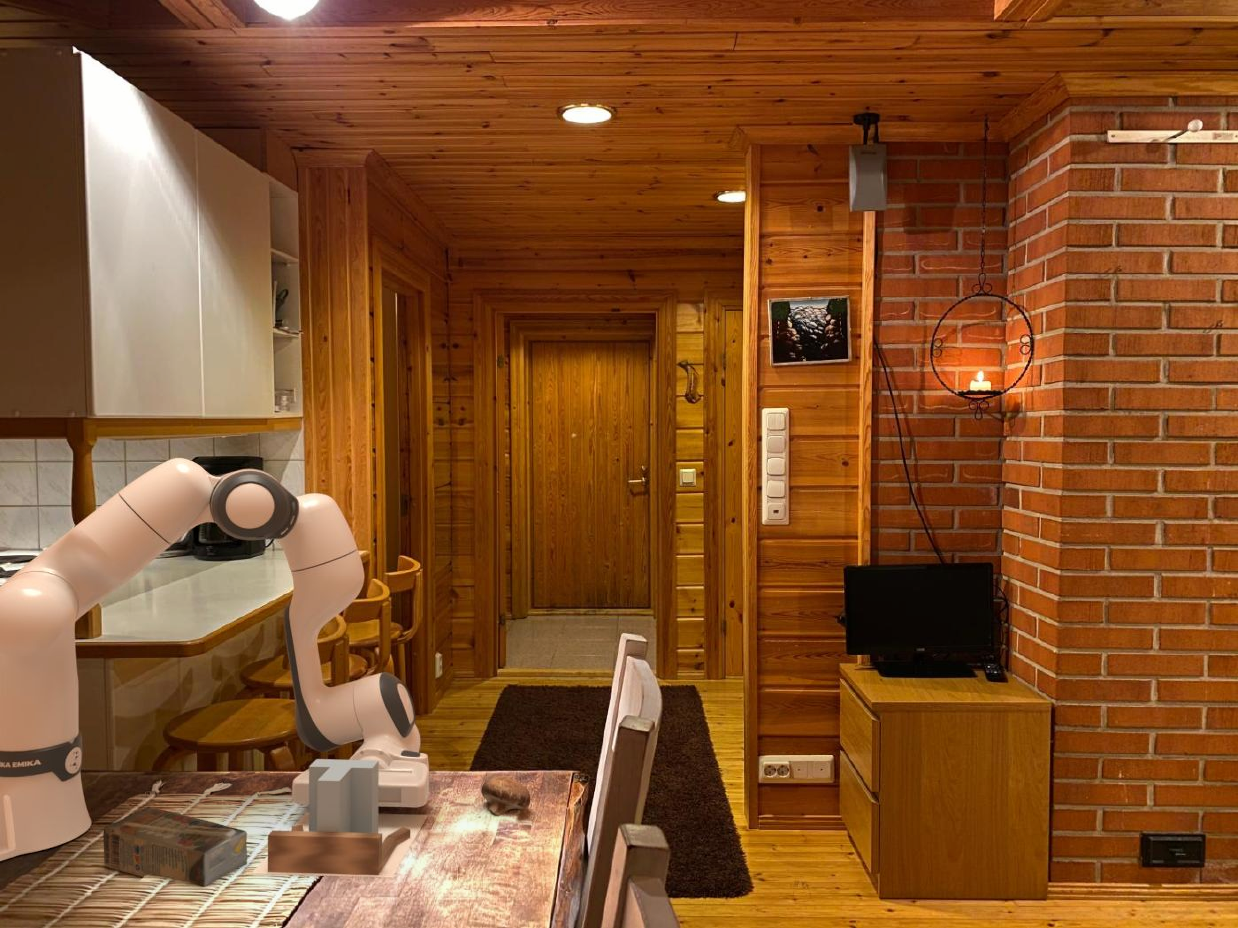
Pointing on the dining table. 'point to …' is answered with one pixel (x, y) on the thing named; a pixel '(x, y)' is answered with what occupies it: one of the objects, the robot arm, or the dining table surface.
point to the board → (386, 827)
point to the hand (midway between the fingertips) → (346, 807)
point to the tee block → (343, 796)
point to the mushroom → (505, 795)
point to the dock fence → (331, 851)
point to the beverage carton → (173, 846)
